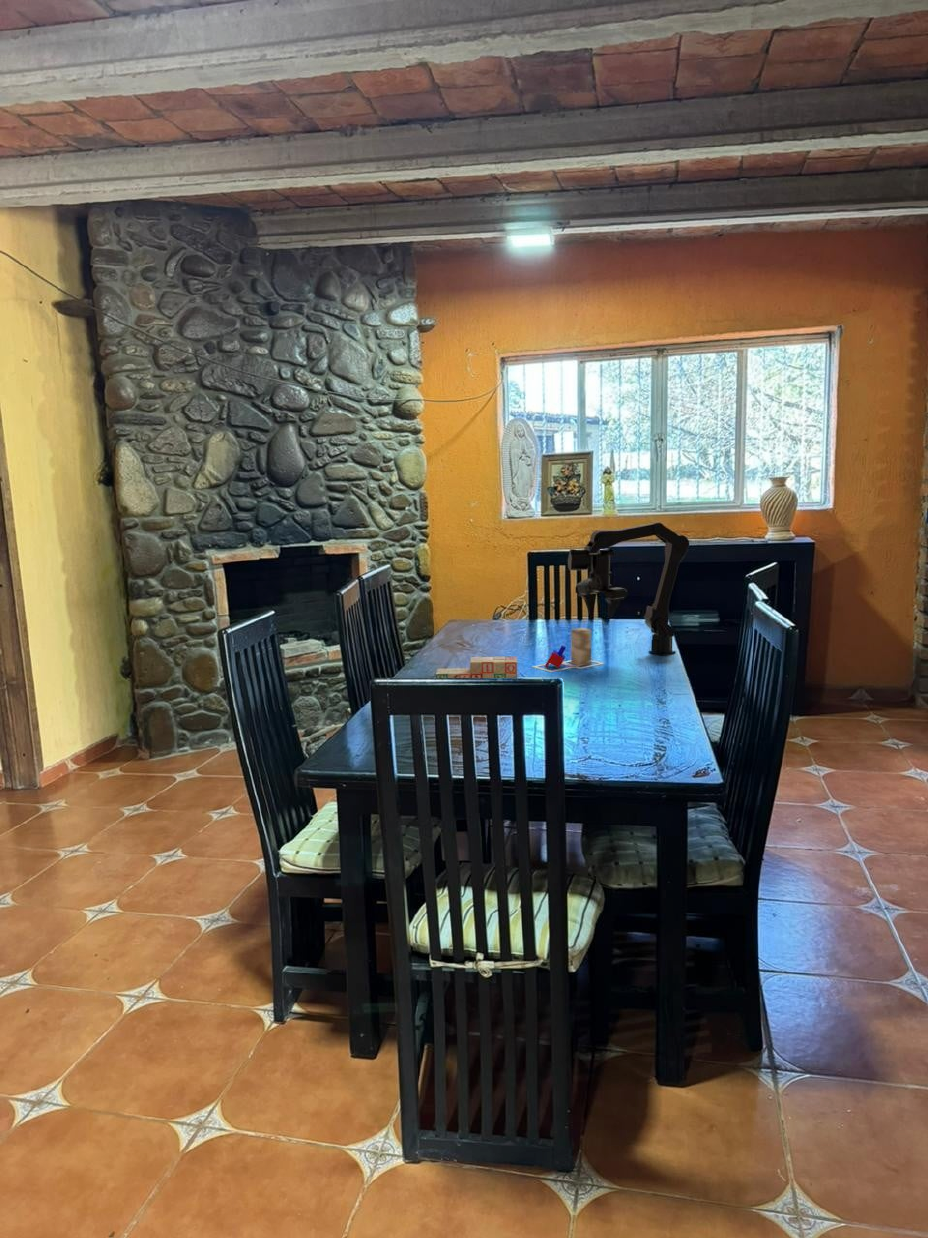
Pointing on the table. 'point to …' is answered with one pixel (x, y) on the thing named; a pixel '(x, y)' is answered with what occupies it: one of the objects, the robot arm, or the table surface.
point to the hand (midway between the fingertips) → (600, 616)
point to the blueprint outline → (567, 665)
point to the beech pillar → (581, 646)
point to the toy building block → (556, 657)
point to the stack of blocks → (483, 668)
